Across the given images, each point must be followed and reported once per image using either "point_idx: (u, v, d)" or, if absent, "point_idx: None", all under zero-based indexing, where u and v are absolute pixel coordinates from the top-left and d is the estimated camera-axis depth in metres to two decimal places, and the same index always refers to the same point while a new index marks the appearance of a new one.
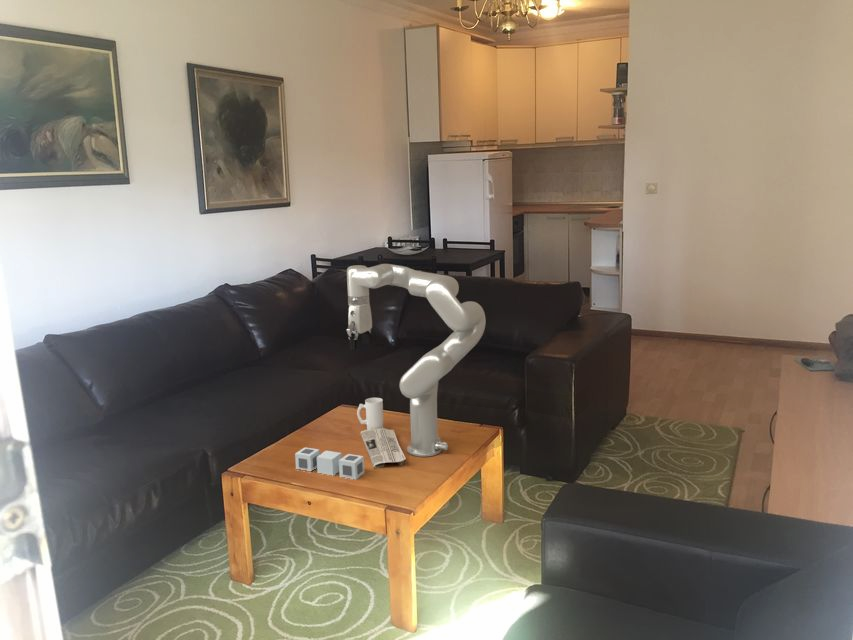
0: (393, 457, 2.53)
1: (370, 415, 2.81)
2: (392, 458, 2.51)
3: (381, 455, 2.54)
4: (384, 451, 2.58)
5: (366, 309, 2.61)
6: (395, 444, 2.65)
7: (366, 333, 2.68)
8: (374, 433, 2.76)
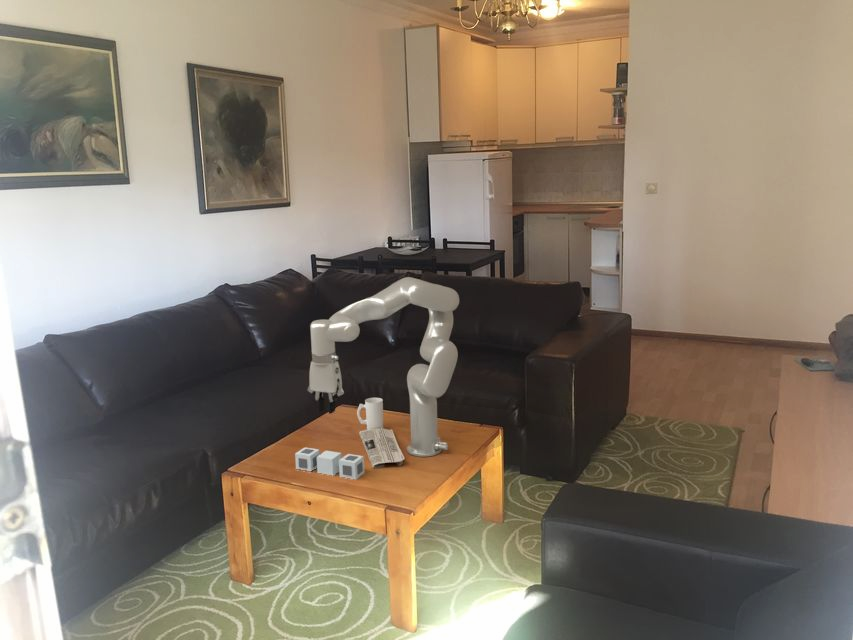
0: (392, 457, 2.52)
1: (370, 415, 2.81)
2: (391, 458, 2.51)
3: (380, 455, 2.54)
4: (383, 451, 2.58)
5: None
6: (393, 444, 2.65)
7: (322, 397, 2.43)
8: (372, 433, 2.76)
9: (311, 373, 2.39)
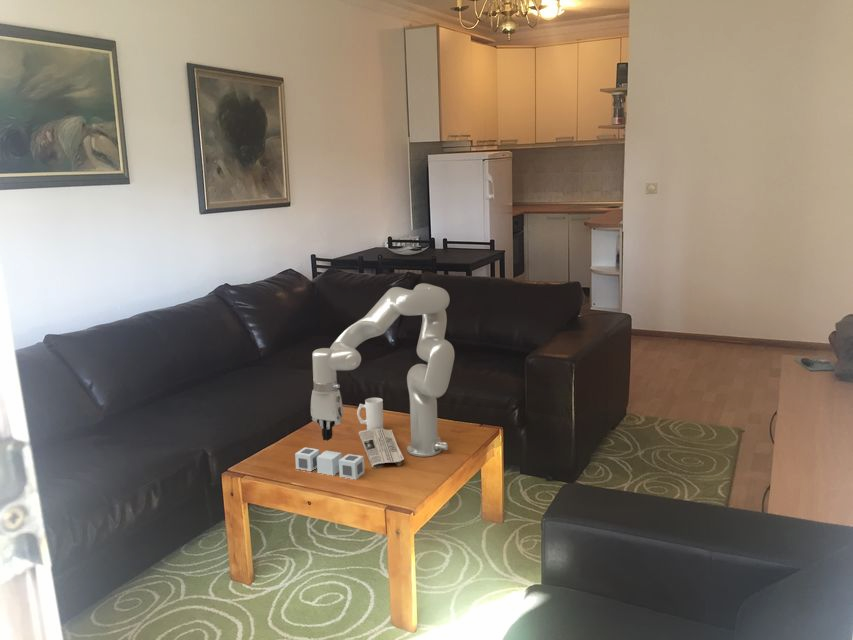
0: (391, 457, 2.52)
1: (370, 415, 2.81)
2: (390, 458, 2.51)
3: (379, 455, 2.54)
4: (382, 451, 2.57)
5: None
6: (393, 444, 2.65)
7: (326, 424, 2.44)
8: (372, 433, 2.76)
9: (312, 401, 2.41)
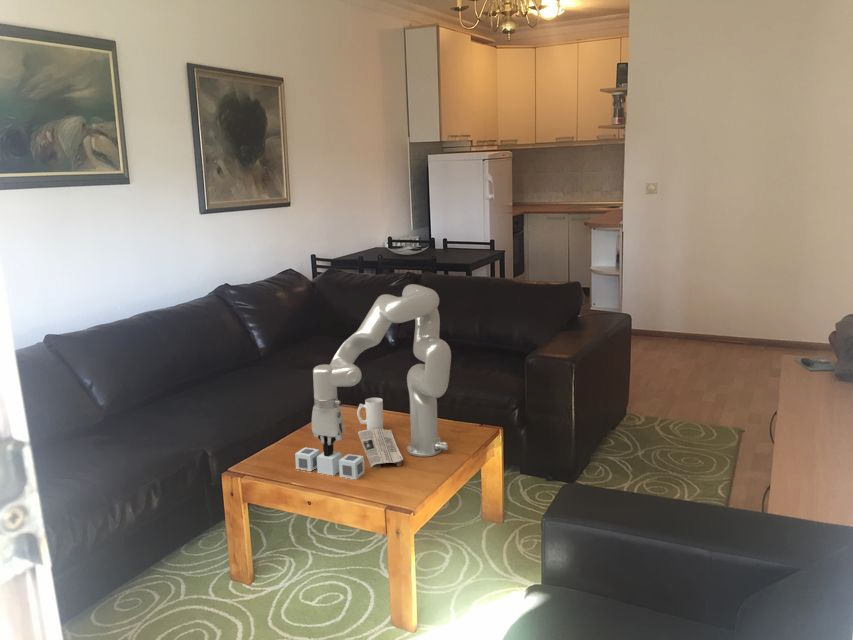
0: (390, 457, 2.52)
1: (370, 415, 2.81)
2: (389, 458, 2.51)
3: (379, 456, 2.54)
4: (381, 451, 2.57)
5: None
6: (392, 445, 2.65)
7: (327, 440, 2.45)
8: (371, 433, 2.76)
9: (313, 417, 2.42)
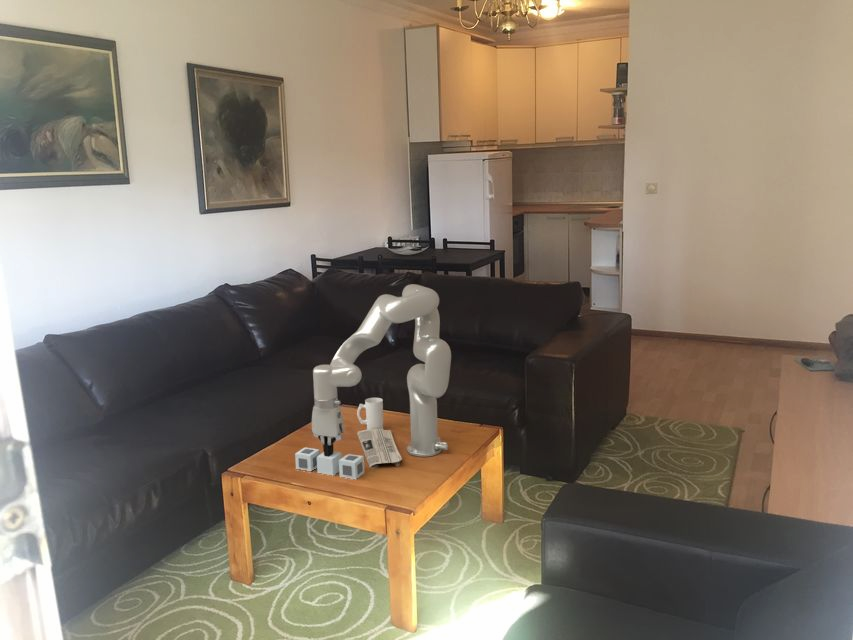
0: (389, 457, 2.52)
1: (370, 415, 2.81)
2: (388, 459, 2.51)
3: (377, 456, 2.54)
4: (380, 452, 2.57)
5: None
6: (391, 445, 2.65)
7: (328, 440, 2.45)
8: (370, 433, 2.75)
9: (313, 417, 2.43)
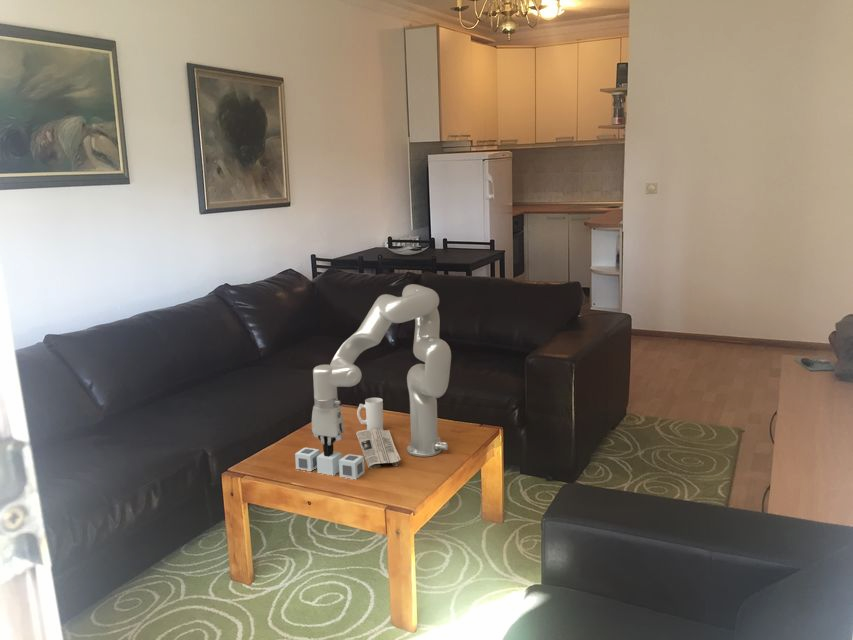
0: (388, 457, 2.52)
1: (370, 415, 2.81)
2: (387, 459, 2.51)
3: (376, 456, 2.54)
4: (379, 452, 2.57)
5: None
6: (390, 445, 2.64)
7: (327, 440, 2.45)
8: (369, 434, 2.75)
9: (313, 417, 2.42)
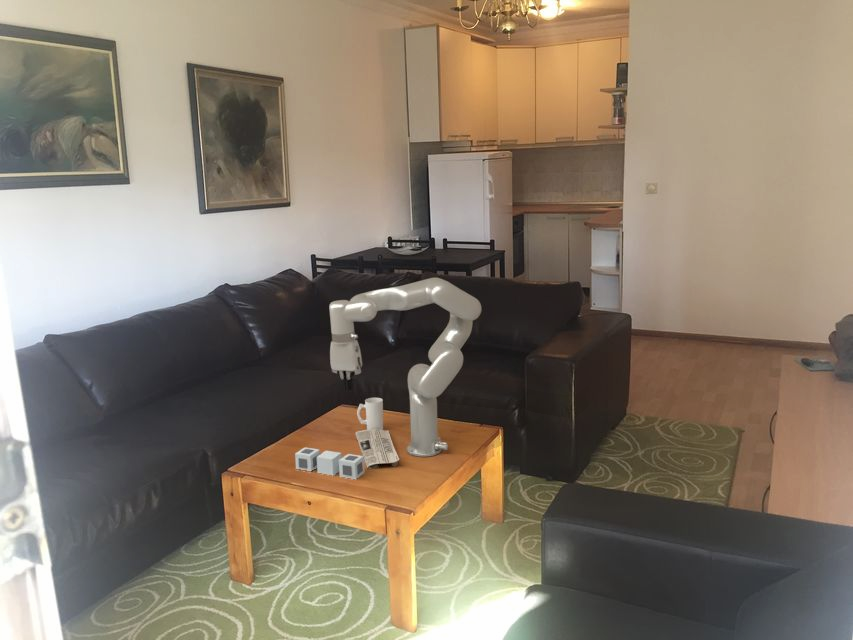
0: (387, 458, 2.52)
1: (370, 415, 2.81)
2: (386, 459, 2.51)
3: (375, 456, 2.54)
4: (378, 452, 2.57)
5: None
6: (389, 445, 2.64)
7: (346, 375, 2.49)
8: (368, 434, 2.75)
9: (332, 353, 2.46)
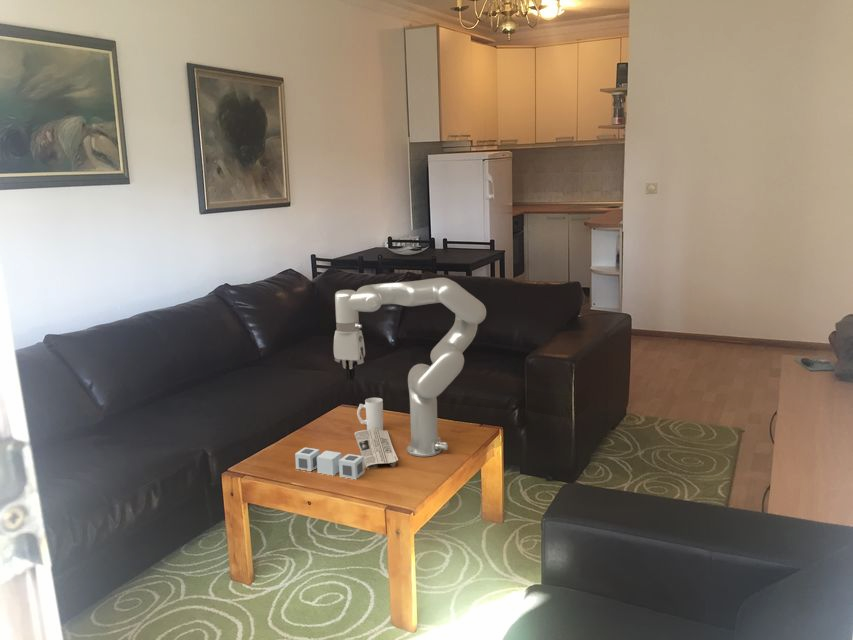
0: (385, 458, 2.52)
1: (370, 415, 2.81)
2: (384, 459, 2.50)
3: (374, 456, 2.53)
4: (377, 452, 2.57)
5: None
6: (388, 445, 2.64)
7: (349, 365, 2.50)
8: (367, 434, 2.75)
9: (335, 341, 2.48)
